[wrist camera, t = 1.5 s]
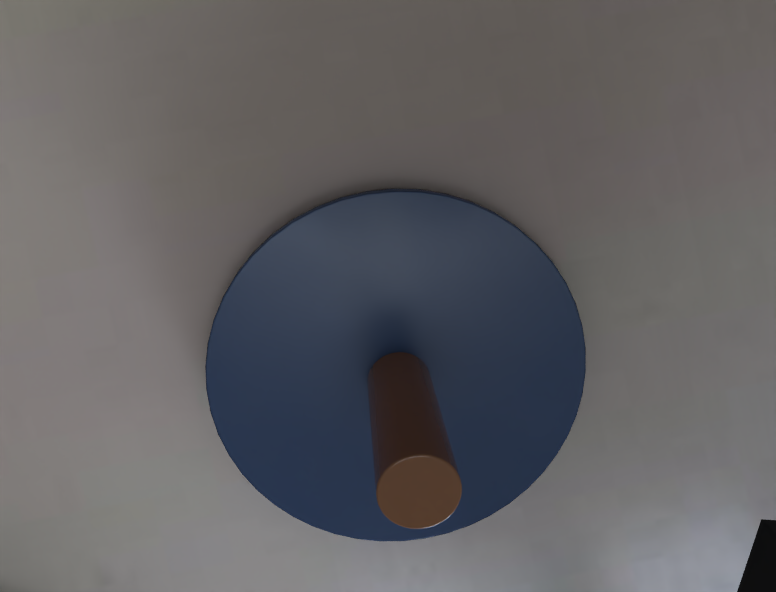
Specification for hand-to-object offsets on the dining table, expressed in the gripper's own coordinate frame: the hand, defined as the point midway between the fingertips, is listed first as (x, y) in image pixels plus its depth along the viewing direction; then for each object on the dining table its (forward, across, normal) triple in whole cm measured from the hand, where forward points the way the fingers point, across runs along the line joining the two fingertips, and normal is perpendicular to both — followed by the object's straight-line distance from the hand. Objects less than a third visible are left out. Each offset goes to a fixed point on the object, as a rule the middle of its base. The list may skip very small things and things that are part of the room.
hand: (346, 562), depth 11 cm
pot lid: (+18, +3, -4) cm, 18 cm away
